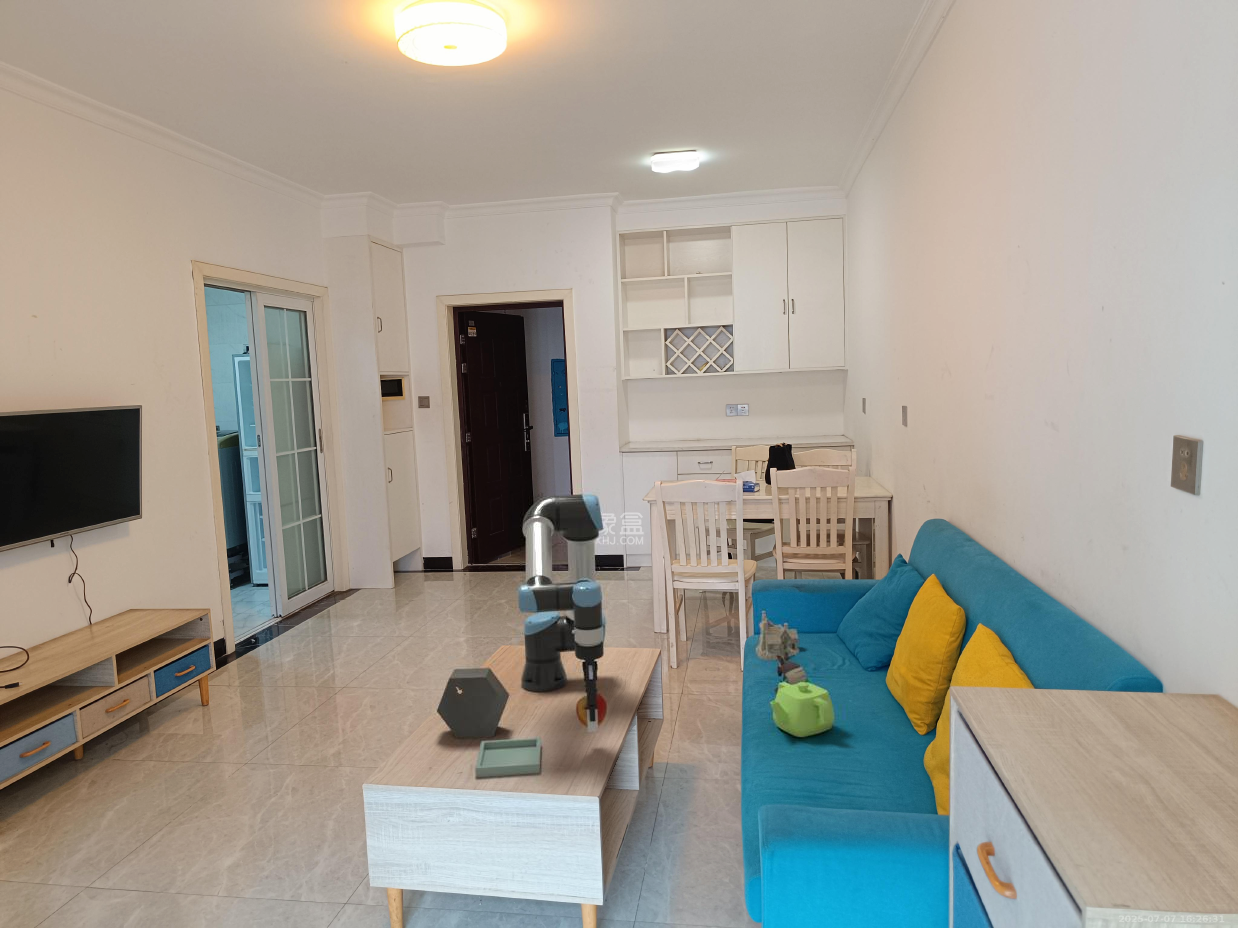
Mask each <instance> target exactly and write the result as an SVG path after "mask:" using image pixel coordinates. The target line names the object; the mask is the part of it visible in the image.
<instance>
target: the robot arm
mask: <svg viewBox="0 0 1238 928" xmlns="http://www.w3.org/2000/svg"><path fill="white" fill-rule="evenodd" d="M599 500H600V499H599V497H598V496H597V495H596V494H595V493H594V494H593V493H591V494H590V493H589V494H587V493H586V494H585V493H581V494H580V493H579V494H563V495H548V496H544V497H542V498H540V499H538V501H536V502H535V503H534V504H532V506H531V507H530V508H529V509H528V510H527V512H526V513H525V515H524V518H523V521H522V533H523V536H524V537H525V584H523V585H522V584H521V585H520V586H518V588H517V596H518V597H517V599H518V600H517V601H518V611H520V612H521V613H524V614H525V613H526V614H527V613H529V614H531V613H532V615H530V616H528V617H527V618H526V619H525V621H524V622H523V623H524V624H523V635H524V649H525V650H524V654H525V655H524V656H525V664H524V667H523V670H522V674H521V677H520V684H521V687H522V688H523V689H525V690H527V691H531V692H551V691H555V690H558V689H561V688H563V687H565V686H566V684H567V683H568V675H567V673H566V670H565V667H564V664H563V661H562V658H561V657H562V655H561V654H562V653H564V652H565V653H569V652H574V655H575V657H576V658H577V659H578V660H583V661H581V662H582V664H581V665H582V673H583V681H584V684H585V685H584V686H585V696H586V695H587V707H584V708H585V710H587V733H599V726H598V715H597V708H598V706H597V695H596V693H599V692H598V688H597V681H598V661H597V660H599V659H601V658H602V657H604V644H605V640H606V639H605V637H606V615H605V613H603V603H602V601H603V595H602V587H601V585H600V584H599V583H597V582H596V559H595V557H596V554H595V550H596V549H595V541H596V540H597V539H598V538H599V536H600V532H601V531H604V524H603V518H602V511H601V505H600V501H599ZM554 533H555V534H557V533H562V534H561V536H562V538H563V540H565V541H566V542H567V558H568V559H567V560H568V582H561V583H560V582H558V583H557V582H556V583H553V580H554V579H553V555H552V553H553V552H552V536H553V535H554ZM559 612H565V615H562V616H561V615H560V614H559Z"/></svg>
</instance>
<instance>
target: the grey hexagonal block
mask: <svg viewBox="0 0 1238 928" xmlns="http://www.w3.org/2000/svg"><path fill="white" fill-rule="evenodd" d="M459 691H461V693H459ZM509 696H510V693H509V692H508V691H507V689H506V688H505V687H504V685H503V684H502V683H501V681H500V680H499V679H498V677H497V676H496V675H495V673H494V672H493V670H492V669H491V668H490V667H479V668H475V667H474V668H454V670H453V672H452V673H451V675H450V676H449V678H448V681H447V683H446V686H445V689H444V691H443V694H442V696H441V699H440V702H439V704H438V707H437V710H436V712H437V714H438V715H439V716H440V718H441V719H442V720H443V722H444V723H445V724H446V726H447V727H448V728H449V729H450V731H451V733H453V735H454V736H455V738H456V739H477V738H478V739H481V738H493V737H495V734H496V731H497V729H498V727H499V724H500V721H501V718H502V716H503V713H504V711H505V708H506V706H507V704H508V703H507V702H508V700H509V698H510V697H509Z"/></svg>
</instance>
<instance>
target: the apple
mask: <svg viewBox="0 0 1238 928" xmlns="http://www.w3.org/2000/svg"><path fill="white" fill-rule="evenodd" d="M596 695H597V706H598V708H597V715H598V727H599V726H600V725H601V724H602V723H603V721H604V720H605V717H606V715H607V710H608V703H607V701H606V699H605V698H604V697H603V695H601V694H600V693H599V692H597V693H596ZM575 707H576V708H575V711H576V716H577V719H578V721H580V723H581V725H583V726H584V727H587V710H585V708H584V707H587V695H586V694H585V695H584V696H582V697H580V698H579V699H578V701H577V702H576V706H575ZM587 728H588V727H587Z"/></svg>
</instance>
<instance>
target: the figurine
mask: <svg viewBox="0 0 1238 928" xmlns="http://www.w3.org/2000/svg"><path fill="white" fill-rule="evenodd" d="M777 659H778V660H777V661H778V662H779V663H778V664H777V667H776V672H777V676H778V677H783V678H782V680H780V679H779V683H782V682H786V683H788V684H790V685H794V684H797V683H800V682H805V683H811V684H813V685H814V683H813V680H812V678H811V677H808V678H807V675H806V672H805V670H804V668H803V667H802V666H801V665H800V664H798V663H797V662H795V661H792V660H789V659H790V657H789V656H788V654H787V652H785V655H784V659H783V658H782V657H781V656H779V655H777ZM782 675H783V676H782ZM785 680H786V681H785ZM774 692H775V694H776V695H777V692H778V686H777V687H775V688H774Z"/></svg>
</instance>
